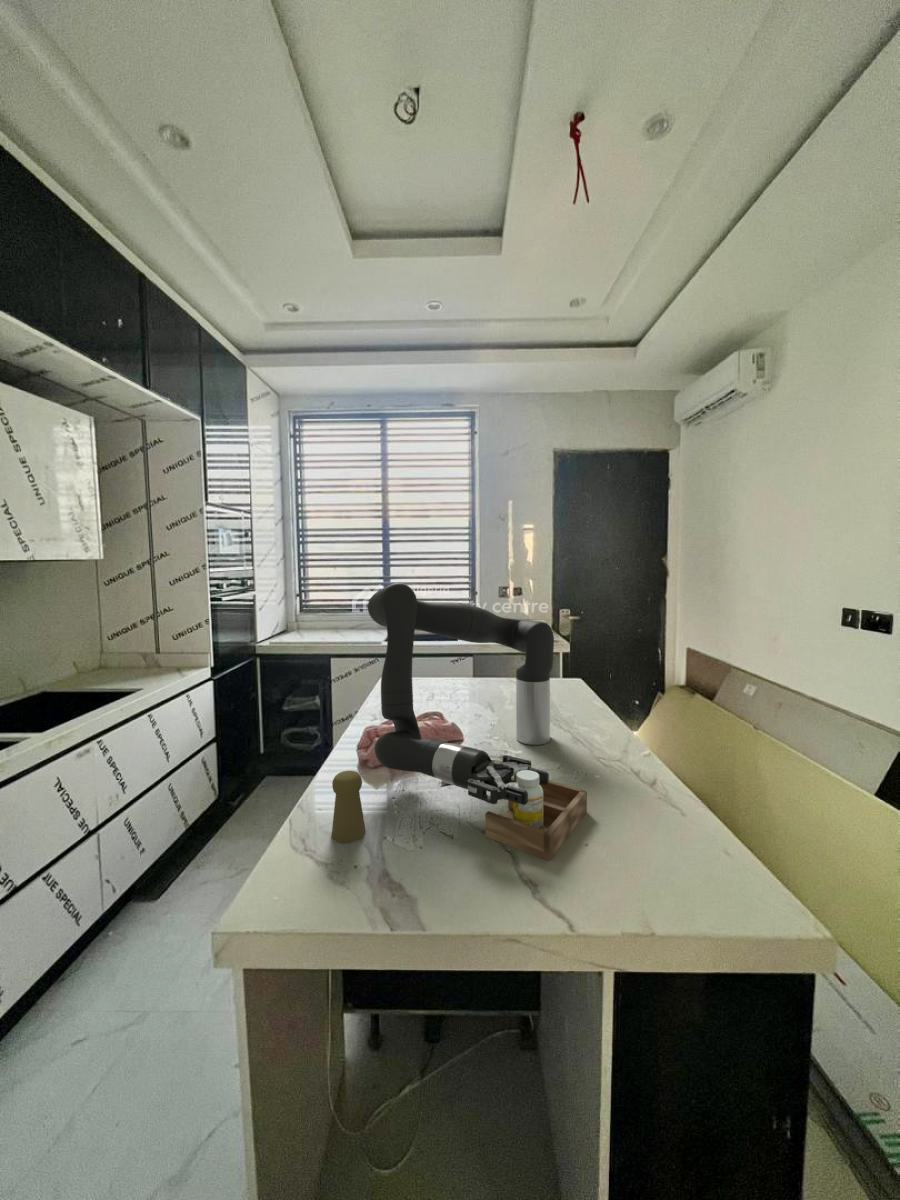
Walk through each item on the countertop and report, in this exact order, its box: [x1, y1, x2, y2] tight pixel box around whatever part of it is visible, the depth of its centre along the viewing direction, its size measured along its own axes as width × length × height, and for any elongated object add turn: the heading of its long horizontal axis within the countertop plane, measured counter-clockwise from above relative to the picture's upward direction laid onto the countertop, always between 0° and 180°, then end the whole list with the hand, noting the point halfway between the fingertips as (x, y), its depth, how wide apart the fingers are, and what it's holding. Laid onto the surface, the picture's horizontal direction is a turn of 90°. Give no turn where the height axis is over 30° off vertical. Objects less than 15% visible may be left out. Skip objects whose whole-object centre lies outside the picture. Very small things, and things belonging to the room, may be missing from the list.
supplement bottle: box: [513, 770, 543, 830], centre depth 79 cm, size 5×5×10 cm
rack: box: [484, 780, 588, 862], centre depth 83 cm, size 18×12×4 cm, turn 144°
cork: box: [331, 770, 367, 844], centre depth 80 cm, size 6×6×11 cm
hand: (538, 788), depth 78 cm, fingers open, 8 cm apart
